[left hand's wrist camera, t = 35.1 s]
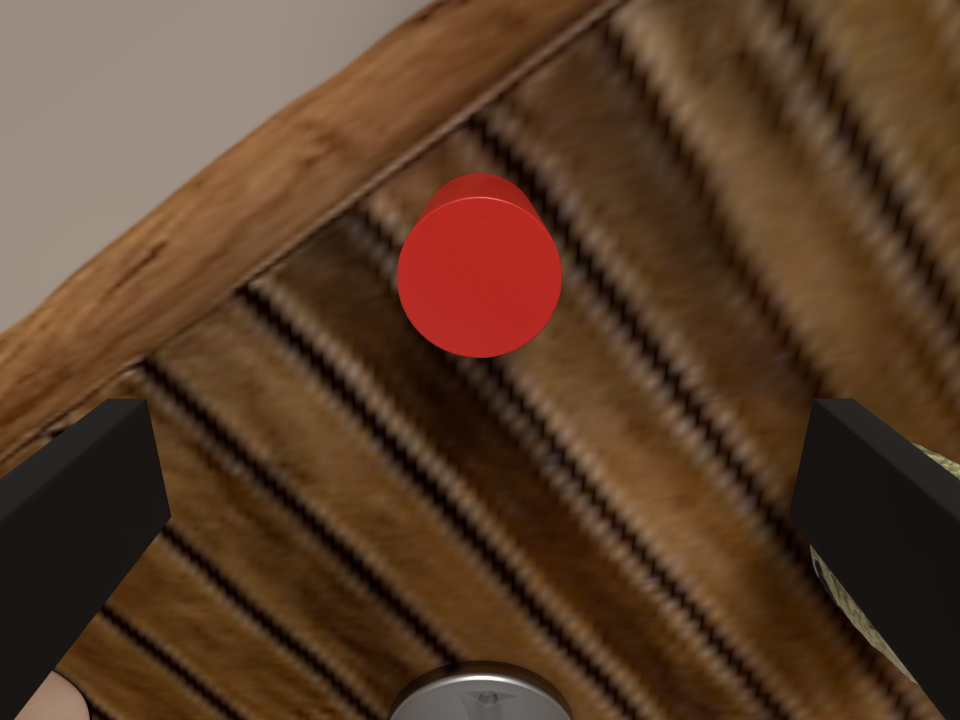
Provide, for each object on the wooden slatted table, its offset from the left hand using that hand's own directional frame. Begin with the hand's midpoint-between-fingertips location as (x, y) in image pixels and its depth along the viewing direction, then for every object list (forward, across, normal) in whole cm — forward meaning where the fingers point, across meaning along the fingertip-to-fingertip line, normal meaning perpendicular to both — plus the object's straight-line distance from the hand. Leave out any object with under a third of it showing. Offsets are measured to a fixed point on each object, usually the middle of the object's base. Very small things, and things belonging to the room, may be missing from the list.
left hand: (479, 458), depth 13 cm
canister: (+26, 0, 0) cm, 26 cm away
